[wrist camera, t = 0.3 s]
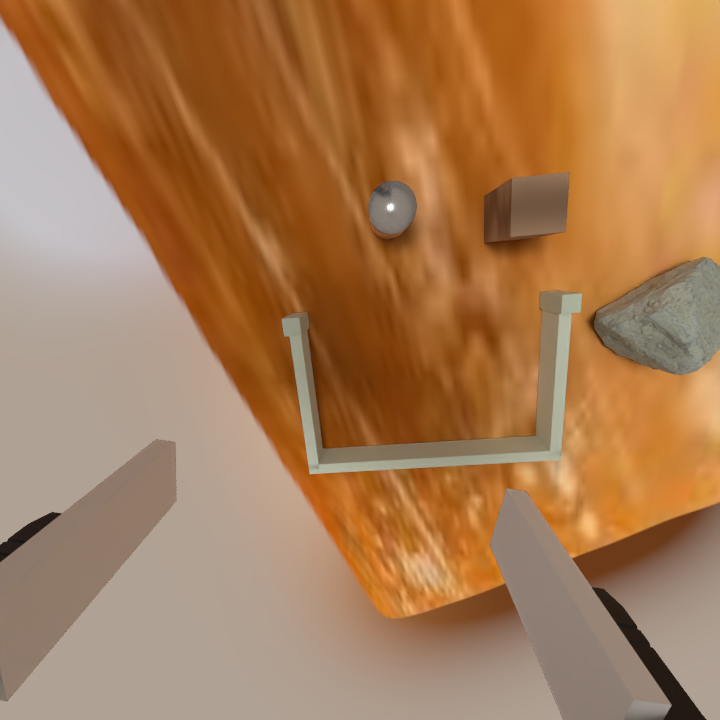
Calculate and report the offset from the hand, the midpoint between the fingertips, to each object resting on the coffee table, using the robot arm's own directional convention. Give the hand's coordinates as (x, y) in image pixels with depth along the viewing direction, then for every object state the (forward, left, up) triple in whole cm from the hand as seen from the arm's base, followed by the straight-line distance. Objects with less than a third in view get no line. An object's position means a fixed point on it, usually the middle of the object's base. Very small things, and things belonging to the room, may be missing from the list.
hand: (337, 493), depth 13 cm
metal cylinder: (-13, +4, -26) cm, 29 cm away
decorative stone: (-1, +31, -26) cm, 41 cm away
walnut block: (-12, +16, -26) cm, 33 cm away
